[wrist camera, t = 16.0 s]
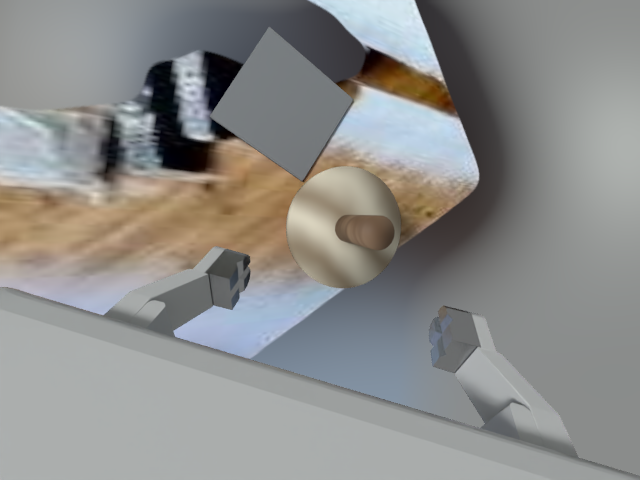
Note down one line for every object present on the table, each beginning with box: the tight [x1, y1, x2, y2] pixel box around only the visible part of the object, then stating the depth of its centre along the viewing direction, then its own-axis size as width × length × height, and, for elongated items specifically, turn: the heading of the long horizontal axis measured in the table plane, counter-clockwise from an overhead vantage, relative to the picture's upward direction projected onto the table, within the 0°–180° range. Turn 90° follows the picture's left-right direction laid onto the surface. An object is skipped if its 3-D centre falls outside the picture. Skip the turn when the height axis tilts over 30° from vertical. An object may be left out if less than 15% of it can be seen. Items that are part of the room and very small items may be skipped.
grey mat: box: [210, 27, 353, 181], centre depth 45 cm, size 17×17×1 cm
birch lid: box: [286, 166, 401, 288], centre depth 33 cm, size 16×16×10 cm
